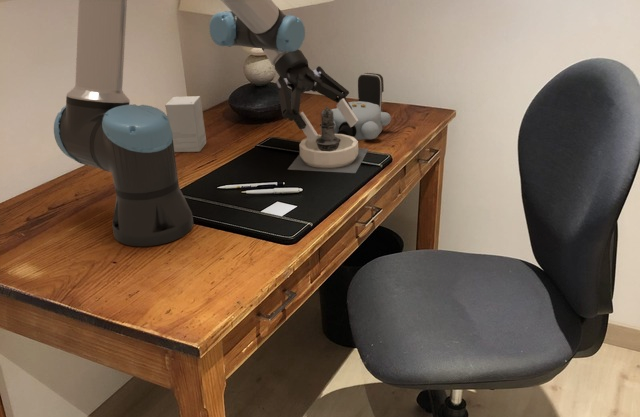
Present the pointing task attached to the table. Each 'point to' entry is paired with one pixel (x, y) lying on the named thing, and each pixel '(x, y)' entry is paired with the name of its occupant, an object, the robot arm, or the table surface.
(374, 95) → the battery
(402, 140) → the table surface
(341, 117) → the grey rounded piece
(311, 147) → the bowl
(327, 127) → the grey upright statuette
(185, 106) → the supplement box
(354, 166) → the mat
